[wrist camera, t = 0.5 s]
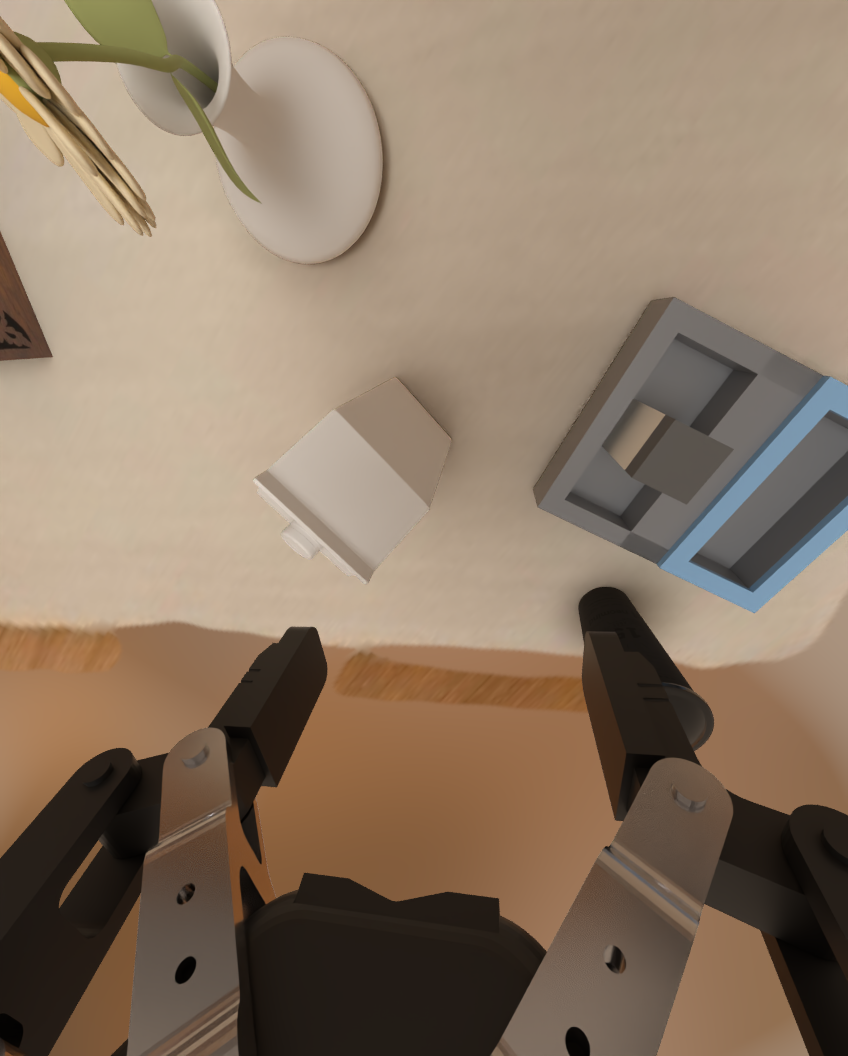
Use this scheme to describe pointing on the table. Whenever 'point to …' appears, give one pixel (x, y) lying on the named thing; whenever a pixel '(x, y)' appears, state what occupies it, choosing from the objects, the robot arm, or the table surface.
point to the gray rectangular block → (664, 452)
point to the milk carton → (358, 479)
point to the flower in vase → (213, 119)
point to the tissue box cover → (17, 316)
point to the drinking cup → (647, 656)
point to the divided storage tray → (740, 481)
